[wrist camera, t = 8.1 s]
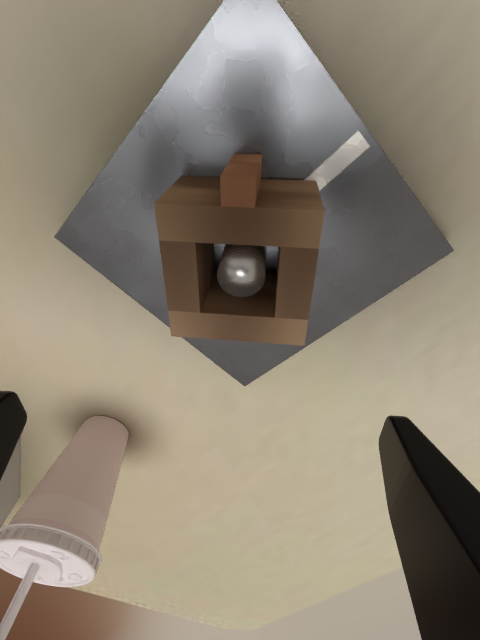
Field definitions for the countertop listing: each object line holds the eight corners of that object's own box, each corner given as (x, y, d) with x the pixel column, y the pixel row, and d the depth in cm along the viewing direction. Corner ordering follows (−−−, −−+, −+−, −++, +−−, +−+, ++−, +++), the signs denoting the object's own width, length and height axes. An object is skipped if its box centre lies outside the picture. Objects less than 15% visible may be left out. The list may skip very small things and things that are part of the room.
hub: (63, 230, 19) (12, 267, 15) (252, -30, 13) (242, -73, 9) (245, 375, 24) (240, 430, 20) (445, 242, 18) (490, 286, 14)
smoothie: (128, 401, 26) (14, 651, 15) (155, 453, 30) (81, 688, 18) (52, 406, 27) (-108, 643, 16) (87, 456, 31) (-24, 679, 19)
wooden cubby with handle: (190, 291, 19) (171, 336, 16) (178, 151, 15) (150, 173, 12) (301, 298, 19) (304, 345, 16) (319, 155, 15) (329, 180, 11)
